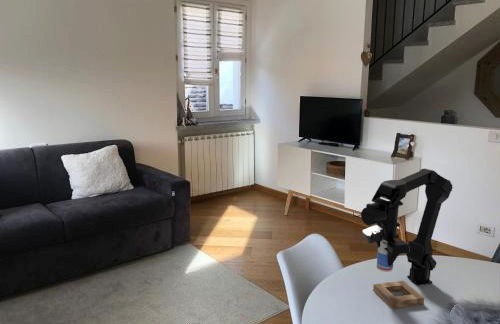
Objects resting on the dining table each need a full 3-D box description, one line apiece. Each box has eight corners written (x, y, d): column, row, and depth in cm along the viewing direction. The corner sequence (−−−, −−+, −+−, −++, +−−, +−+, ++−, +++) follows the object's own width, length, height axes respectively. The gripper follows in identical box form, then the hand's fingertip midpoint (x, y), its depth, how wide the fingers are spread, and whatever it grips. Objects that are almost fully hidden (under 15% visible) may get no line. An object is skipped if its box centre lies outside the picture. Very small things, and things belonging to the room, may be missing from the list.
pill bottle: (393, 273, 147) (395, 246, 145) (376, 271, 148) (378, 244, 146) (392, 265, 152) (394, 239, 150) (376, 264, 153) (378, 238, 151)
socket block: (402, 286, 157) (403, 280, 157) (423, 304, 146) (424, 297, 145) (373, 290, 154) (373, 284, 154) (391, 308, 143) (392, 302, 142)
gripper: (354, 211, 153) (351, 252, 157) (380, 231, 135) (377, 277, 139) (382, 209, 156) (379, 249, 159) (412, 228, 138) (408, 273, 141)
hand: (385, 261), depth 150 cm, fingers closed on pill bottle, 5 cm apart
